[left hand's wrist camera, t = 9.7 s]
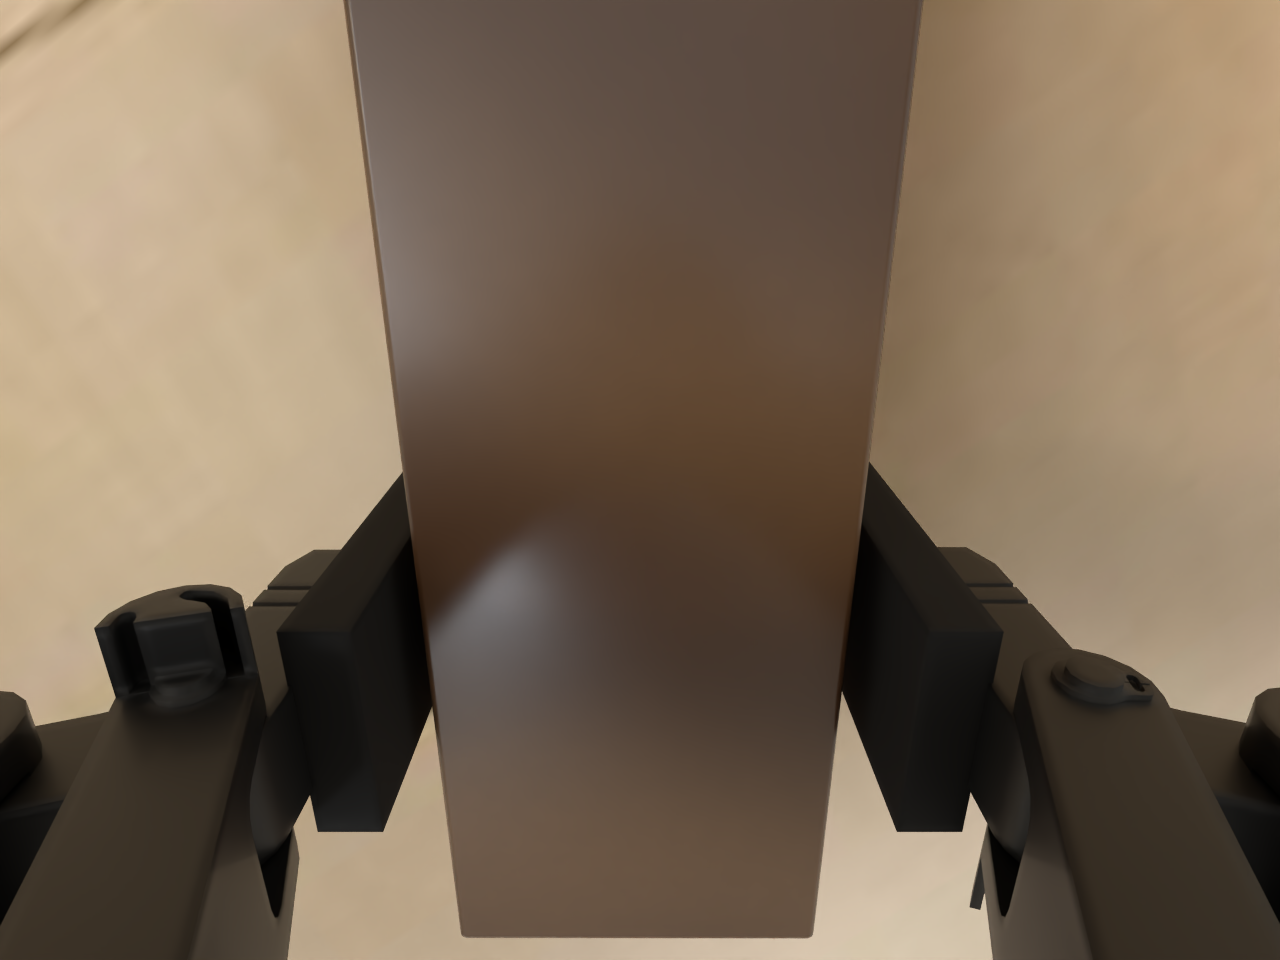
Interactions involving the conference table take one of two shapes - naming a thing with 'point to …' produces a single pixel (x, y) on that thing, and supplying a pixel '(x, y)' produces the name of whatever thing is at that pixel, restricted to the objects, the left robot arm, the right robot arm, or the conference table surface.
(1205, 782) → the left robot arm
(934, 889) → the conference table surface
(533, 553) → the plank
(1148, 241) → the conference table surface
